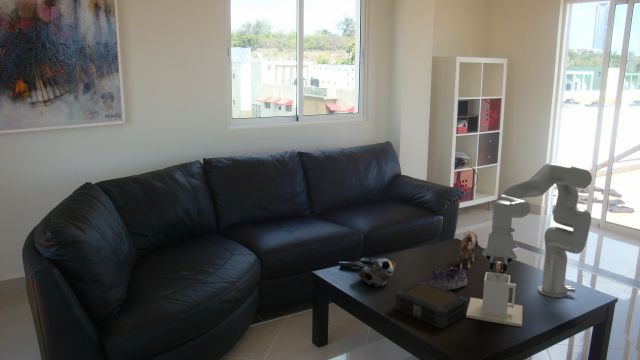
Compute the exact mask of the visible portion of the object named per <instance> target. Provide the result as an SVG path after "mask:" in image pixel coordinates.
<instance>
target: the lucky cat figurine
mask: <svg viewBox="0 0 640 360" xmlns="http://www.w3.org/2000/svg"><path fill="white" fill-rule="evenodd" d="M395 267H396V261H394V260H393V261H391V260H390V259H388V258H384V257H381V258H378V259H375V260H371V261H370V262H369V264H367V265H364V266H363V267H362V268H361V270H360V271H358V272H357V275H358V276H359V277H360V279H362V280H363V281H364V282H365V283H366V284H367V285H369V286H373V288H378V287H382V286H385V285H386V283H387V280H388V279H390V278H391V277H392V276H393V272H394V269H395Z"/></svg>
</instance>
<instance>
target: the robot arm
mask: <svg viewBox="0 0 640 360" xmlns="http://www.w3.org/2000/svg"><path fill="white" fill-rule="evenodd" d="M592 181H593V176H592V173H591V172H590V171H589V170H588V169H584V168H579V167H576V166H572V165H569V164H568V165H567V164H563V163H556V162H548V163H546V164H544V165H543V166H542V167H541V168H540V169H539V170H538V171H537V172H535V174H534V175H533V176H531V177H530V179H528V180H525V181H523V182H520V183H517V184H514V185H511V186H509V187H508V188H506V189H505V190H504V191H503V192H502V193H501V194H499V196H498V197H497V198H496V199H495V201H494V203H493V207H492V208H493V209H492V219H491V220H492V222H491V230H490V231H489V233H488V237H487V242H486V243H487V244H486V247H485V248H484V250H483V251H482V252H481V255H483V256H484V258H486V259H487V260H488V261H489V269H490V273H491V272H493V269H494V264H495V261H494V257H497V258H498V257H499V258H503V259H504V261H503V262H502V263H503V265H502V270H503V273H505V274H506V272H507V270H508V264H509V263H510V262H512V261H515V260H517V259H518V257H517V255H516V253H515V251H514V235H513V233H515V230H516V229H515V228H513V227H512V220H513V219H514V218H516V219H521V218H525V217H527V216H528V215H529V214H530V212H531V205H530V203H529V202H528V201H527V200H524V199H525V198H535V197H540V196H543V195H545V193H546V192H548V191H549V189H551V188H552V187H553V186H554V185H555V186H556V188H557V197H556V198H557V199H556V202H555V206H554V211H553V215H552V216H553V217H552V218H553V219H552V220H553V222H554V223H556V224H557V225H561V226H563V227H567V228H571V229H572V230H569V229H567V228H563V227H560V226H551V227H548V228H547V229H546V230H545V232H544V238H543V239H544V240H543V241H544V246H545V247H544V250H545V251H544V262H543V271H542V272H543V273H542V283H541V285H539V286H538V287H537V291H538V292H539V293H540V294H542V295H544V296H546V297H550V298H557V297H558V298H559V297H560V298H564V297H567V296H568V292H569V293H576V288H573V286H569V285H566V274H567V273H566V272H567V265H568V264H567V263H568V254H567V253H570V254H573V255H575V254H576V255H578V254H581V253H582V252H583V251H584V249H585V247H586V244H587V240H588V237H589V234H590V233H589V232H590V230H591V229H590V227H591V225H592V216H591V212H590V211H588V210H587V209H584V208H581V207H578V202H579V191H578V189H583V190H584V189H587V188H589V186H590V185H591V183H592Z"/></svg>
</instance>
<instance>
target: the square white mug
mask: <svg viewBox="0 0 640 360" xmlns="http://www.w3.org/2000/svg"><path fill="white" fill-rule="evenodd" d="M495 281H496V275H493V274H491V272H488V271H486V272H485V275H484V280H483V296H482V299H481V298H478V297H469V303H468V305H467V314H466V315H465V318H470V319H472V320H479V321H484V322H490V323H491V322H492V323H497V324H503V325H509V326H515V327H519V328H523V305H520V304H515V303H516V302H515V299H516V291H517V290H516V288H517V283H511V275H509V274H505V275H503V276H499V282H495ZM511 288H512V295H511V296H512V299H511V303H510V302H509V297H510V296H509V295H510V289H511Z"/></svg>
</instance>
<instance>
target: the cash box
mask: <svg viewBox="0 0 640 360" xmlns="http://www.w3.org/2000/svg"><path fill="white" fill-rule="evenodd" d="M468 301H469V299H468V297H466V296H463V295H460V294H457V293H455V292H452V291H451V290H448V291H447V290H444V289H441V288H439V287H436V286H433V285H431V284H430V283H427V282H425V281H420V282H417V283H415V284H412V285H410V286H409V287H406V288H404V289H401V290H399V291H397V292H396V293H395V309H396V310H397V309H398V311H400V312H402V313H404V312H405V314H407V315H409V316H411V317H414V318H416V319H418V320H421V321H423V322H425V323H428V324H430V325H432V326H434V327H436V328H441V329H444V328H446V327H447V326H450V324H451V325H452V323H455V322H456V321H458V320H460V319H462V318H463V317H466V314H467V310H468V306H469V303H468Z"/></svg>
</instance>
